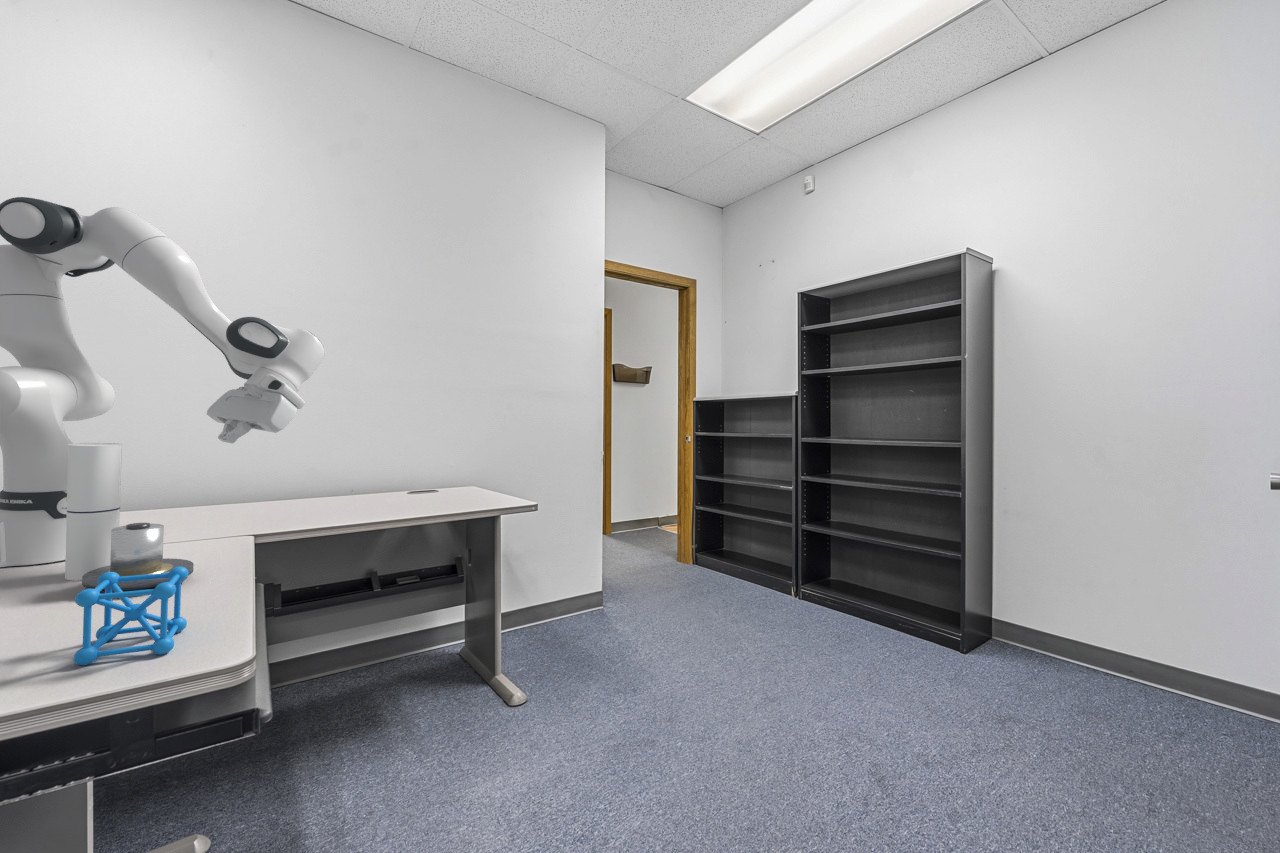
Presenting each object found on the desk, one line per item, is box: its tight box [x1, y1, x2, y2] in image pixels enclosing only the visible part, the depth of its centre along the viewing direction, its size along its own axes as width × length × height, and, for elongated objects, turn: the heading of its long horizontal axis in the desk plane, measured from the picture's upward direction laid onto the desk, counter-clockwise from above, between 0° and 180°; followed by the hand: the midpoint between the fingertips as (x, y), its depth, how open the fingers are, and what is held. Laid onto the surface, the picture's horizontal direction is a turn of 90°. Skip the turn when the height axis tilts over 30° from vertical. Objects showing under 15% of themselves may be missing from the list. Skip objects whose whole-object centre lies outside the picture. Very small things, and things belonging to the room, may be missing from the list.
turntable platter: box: [81, 558, 195, 591], centre depth 99 cm, size 15×15×1 cm
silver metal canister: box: [110, 522, 165, 577], centre depth 98 cm, size 7×7×9 cm
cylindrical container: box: [64, 442, 123, 582], centre depth 102 cm, size 7×7×25 cm
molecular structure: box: [72, 567, 189, 666], centre depth 75 cm, size 10×10×10 cm
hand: (224, 441), depth 112 cm, fingers closed
